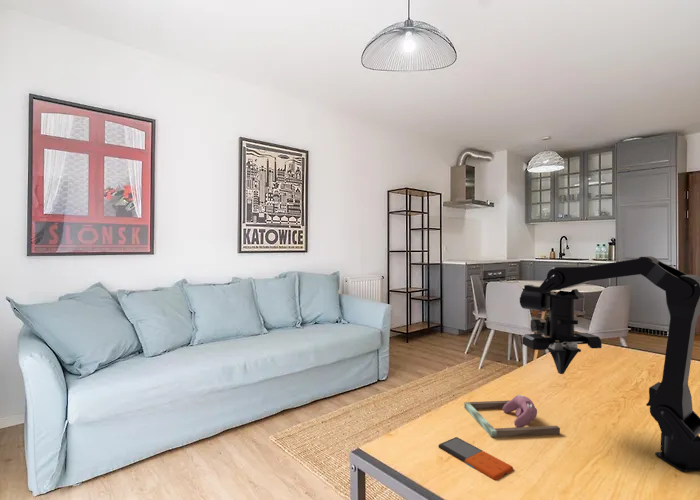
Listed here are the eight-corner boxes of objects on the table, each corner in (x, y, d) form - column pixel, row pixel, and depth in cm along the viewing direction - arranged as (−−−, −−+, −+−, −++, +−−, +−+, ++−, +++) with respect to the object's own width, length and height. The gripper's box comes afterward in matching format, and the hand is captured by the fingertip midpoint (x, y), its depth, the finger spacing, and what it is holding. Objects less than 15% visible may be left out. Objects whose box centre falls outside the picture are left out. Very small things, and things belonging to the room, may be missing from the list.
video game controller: (530, 435, 97) (543, 410, 96) (513, 426, 97) (527, 401, 97) (515, 416, 107) (527, 394, 106) (500, 409, 107) (512, 386, 106)
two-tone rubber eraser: (495, 477, 76) (437, 443, 88) (495, 483, 76) (437, 449, 88) (514, 466, 79) (456, 435, 92) (514, 472, 79) (456, 440, 92)
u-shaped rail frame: (559, 434, 94) (559, 427, 94) (491, 437, 92) (491, 431, 92) (522, 405, 110) (522, 399, 110) (464, 407, 109) (464, 402, 109)
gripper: (574, 308, 111) (573, 362, 111) (512, 309, 109) (511, 364, 109) (603, 316, 100) (602, 376, 100) (535, 317, 98) (534, 379, 98)
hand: (560, 373), depth 102 cm, fingers closed
